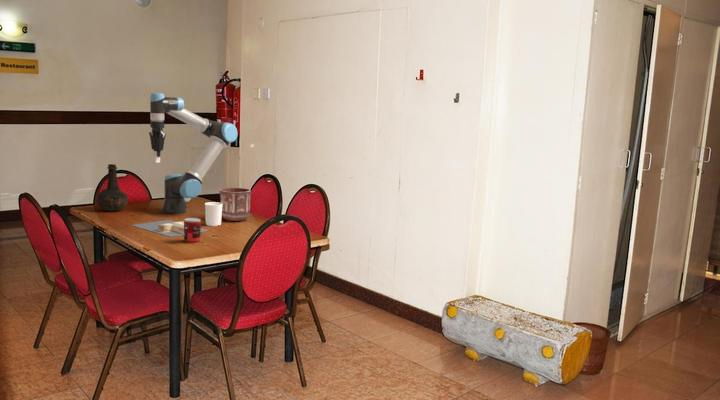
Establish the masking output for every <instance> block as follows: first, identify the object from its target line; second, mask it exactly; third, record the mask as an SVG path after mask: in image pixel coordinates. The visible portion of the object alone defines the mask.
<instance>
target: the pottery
mask: <svg viewBox="0 0 720 400" xmlns="http://www.w3.org/2000/svg"><path fill="white" fill-rule="evenodd" d="M251 195H252V190H251V189H249V188H244V187H224V188H220V189H219V197H220V198H219V199H220V203H222V204H223V206H222V219H224V220H225V221H226V222H230V221H235V222H234V223H237V222H236V221H241V222H245V221H246V220H247V219H248V217H249V216H250V211H251Z"/></svg>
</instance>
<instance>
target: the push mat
mask: <svg viewBox="0 0 720 400" xmlns="http://www.w3.org/2000/svg"><path fill="white" fill-rule="evenodd" d="M174 222H176V221H175V220H171V219H166V220H159V221H150V222H144V223H137V224H131V225H130V226H131V227H134V226H135V227H134V228H138V229H140V230H141V229H142V230H145V231H147V232H148V231H149V232H151V233H155V234H158V235H161V236H166V237H168V238H174V237H181V236H184V233H180V232H177V231H166V232H163V231H159V230H158V225H160V224H167V223H174ZM204 232H205V233H206V232H210V230H208V229H205V228H201V233H204Z"/></svg>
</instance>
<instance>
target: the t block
mask: <svg viewBox="0 0 720 400" xmlns="http://www.w3.org/2000/svg"><path fill="white" fill-rule="evenodd" d="M158 230H159V231H163V232H166V231H177V232H180V233H184V220H182V221H175V222H174V223H167V224H160V225H158Z"/></svg>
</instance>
